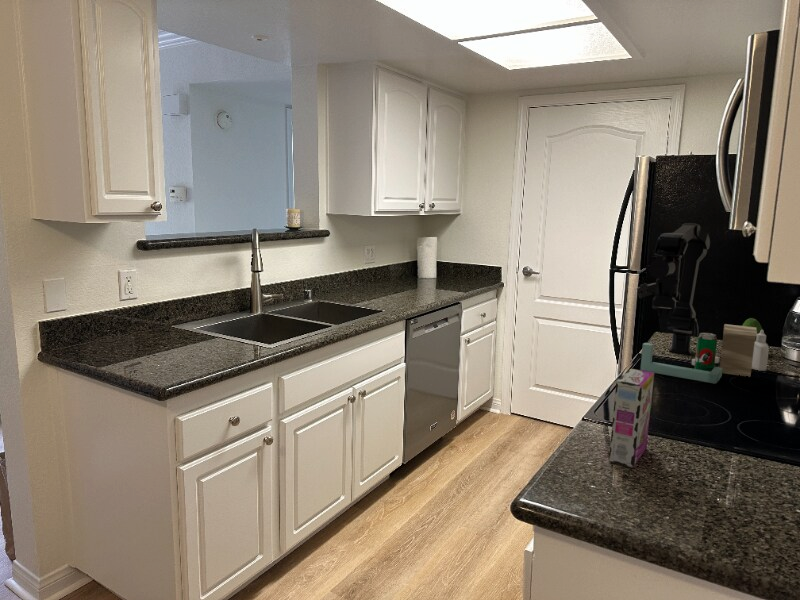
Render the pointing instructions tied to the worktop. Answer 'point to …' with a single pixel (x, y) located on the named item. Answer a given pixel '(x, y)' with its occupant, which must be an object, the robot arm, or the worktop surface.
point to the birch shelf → (737, 350)
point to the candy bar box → (631, 417)
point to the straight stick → (715, 360)
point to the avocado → (753, 325)
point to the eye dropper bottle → (760, 352)
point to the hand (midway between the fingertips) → (664, 326)
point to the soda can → (705, 352)
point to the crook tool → (676, 368)
